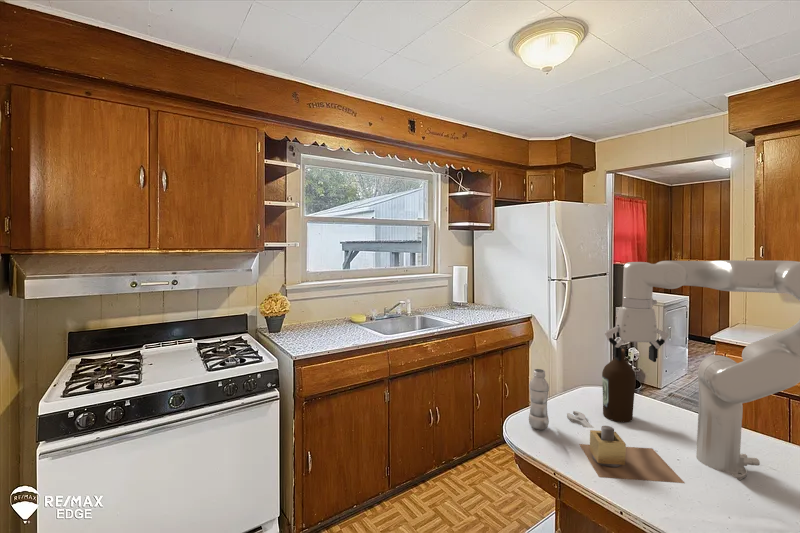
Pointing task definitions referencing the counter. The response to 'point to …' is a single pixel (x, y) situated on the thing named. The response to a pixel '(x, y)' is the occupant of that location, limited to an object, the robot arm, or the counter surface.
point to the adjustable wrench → (579, 419)
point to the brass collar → (607, 449)
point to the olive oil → (618, 390)
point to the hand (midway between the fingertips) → (635, 360)
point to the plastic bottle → (538, 401)
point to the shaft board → (633, 463)
